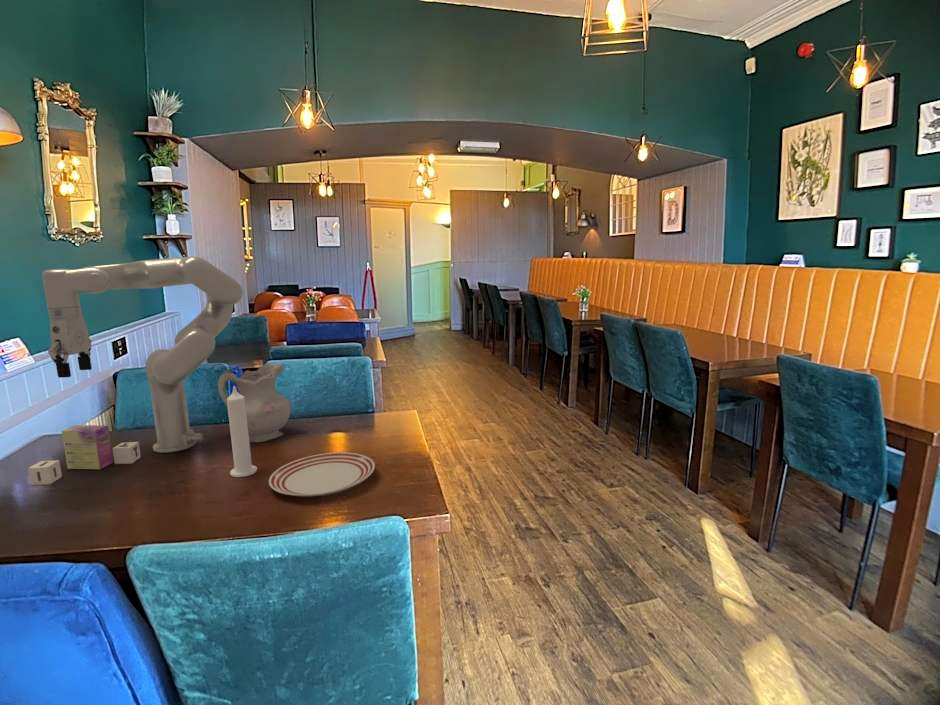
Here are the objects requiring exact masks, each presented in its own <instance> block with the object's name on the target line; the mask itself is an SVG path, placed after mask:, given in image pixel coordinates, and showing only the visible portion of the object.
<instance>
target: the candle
mask: <svg viewBox="0 0 940 705" xmlns="http://www.w3.org/2000/svg"><path fill="white" fill-rule="evenodd" d="M227 406H228V407H227ZM227 406H226V407H227V416H228V415H229V416H228V421H229V432H230V439H231V447H232V448H231V450H232V457H233V458H232V459H233V464H234V465H233V468H232V469H231V470H230V471H229V474H230V476H231V477H233V478H243V477H249V476H251V475H254V474H256V473H257V471H258V467H257V466H256V465H253V464H252V455H251V446H250V442H249V435H248V426H247V416H246V407H245V398H244V396H242V395H241V394H239V391H238V390H237V386H235V385H233V387H232V392H231V394H230V395H229V396H228V398H227Z"/></svg>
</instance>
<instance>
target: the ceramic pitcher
mask: <svg viewBox="0 0 940 705" xmlns="http://www.w3.org/2000/svg"><path fill="white" fill-rule="evenodd" d="M284 370H285V368H284V365H282V364H279V363H277V364H273V363H269V362H267V363H265V364H262V365H261V366H260V367H259V368H258V369H257V370H252V371H251V370H245V371H244V372H243V373H242V374H241V376H240V377H237V376H236V375H235V373H234V372H233V369H231V368H229V369H225V370H223V371H221V374H220V376H219V378H218V381H217V389H218V394H219V396H220V398H221V400H222V402H223V404H224V405H225V406H226V407H227V408H228V406H227V398H228V397H229V396H228V393H227V392H226V383H227V381H231V382H232V383H234V384H236V385H237V386H236V388H237V389H238V393H239V394H241V395H242V396H244V398H245V407H246V416H247V426H248V435H249V443H264V442H267V441H270V440H274V439H277V438H280V437H282V436H283V435H285V433H284V432H282V431H279V430H280V429H283V427H284V426H285V425H286V424H287V422H288V420H289V418H290V416H291V403H290V400H288V398H286V397H285V396H284V395H283V394H281V393H279V392H278V391H277V389H276V381H277V378H278V376H279V375H281V373H283V372H284ZM227 416H228V417H229V415H228V414H227Z"/></svg>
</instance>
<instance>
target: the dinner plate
mask: <svg viewBox="0 0 940 705" xmlns="http://www.w3.org/2000/svg"><path fill="white" fill-rule="evenodd" d="M375 469H376V463H375V462H374V461H373V459H372V458H370V457H369V456H366V455H364V454H359V453H354V452H346V451H345V452H344V451H343V452H342V451H340V452H327V453H320V454H314V455H308V456H305V457H302V458H299V459H296V460H293V461H291V462H289V463H286V464H283V465H282V466H280V467H279V468H278V469H276V470H274V471H273V473H272V474H271V475H270V477H269V478H268V485H269V487H270V489H272V490H273V491H275V493H279V494H282V495H288V496H293V497H294V496H295V497H320V496H321V497H323V496H328V495H332V494H333V495H334V494H337V493H340V492H344V491H347V490H349V489H352V488H353V487H354V488H355V487H356V486H358V485H359V484H361V483H363V482H364V481H366V480H367V479H368V478H369V477H371V475H372V474H373V472H374V471H375Z"/></svg>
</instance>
